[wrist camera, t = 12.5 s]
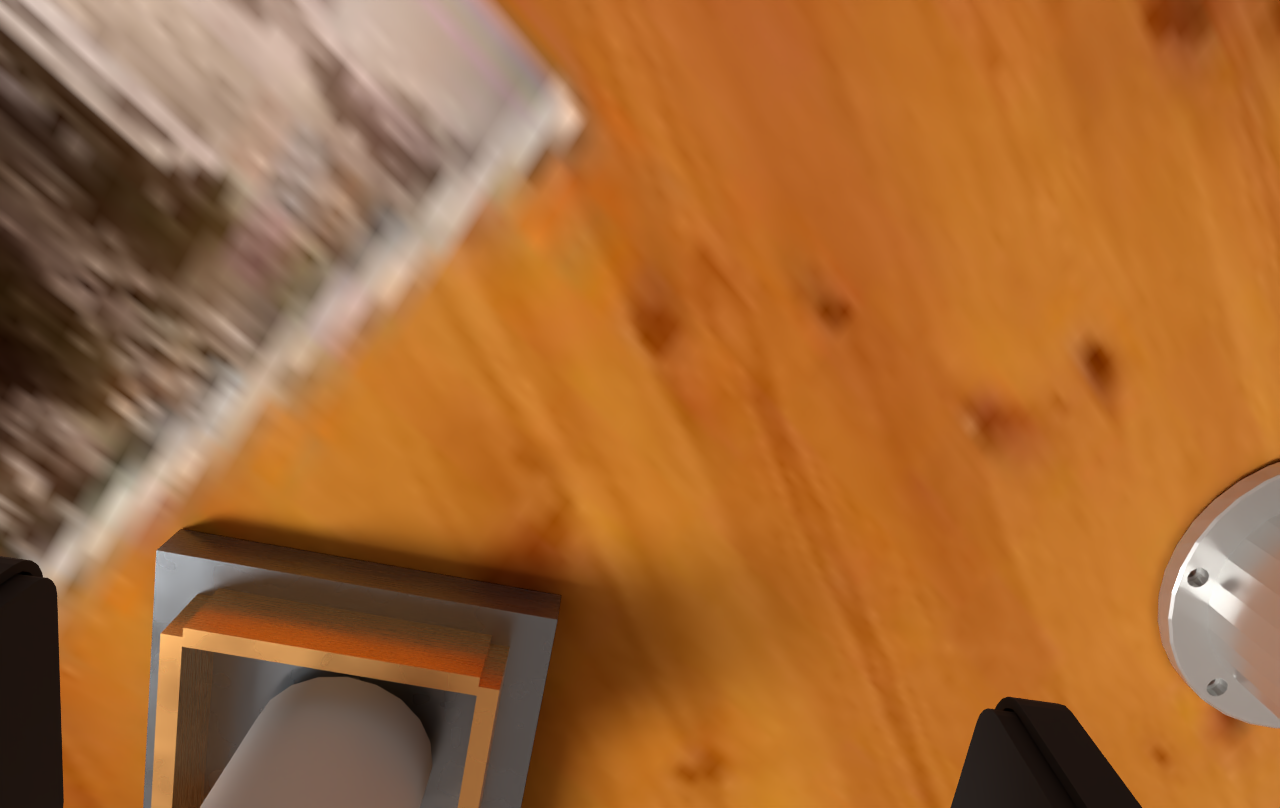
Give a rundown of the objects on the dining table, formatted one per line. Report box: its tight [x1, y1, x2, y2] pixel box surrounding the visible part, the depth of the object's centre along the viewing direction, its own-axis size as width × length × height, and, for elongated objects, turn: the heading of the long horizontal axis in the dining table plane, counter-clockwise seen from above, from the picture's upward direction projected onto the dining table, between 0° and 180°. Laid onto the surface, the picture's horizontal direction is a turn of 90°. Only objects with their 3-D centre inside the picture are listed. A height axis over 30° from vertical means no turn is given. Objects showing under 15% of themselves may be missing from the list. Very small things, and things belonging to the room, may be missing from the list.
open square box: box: [143, 529, 561, 808], centre depth 38 cm, size 16×15×5 cm
